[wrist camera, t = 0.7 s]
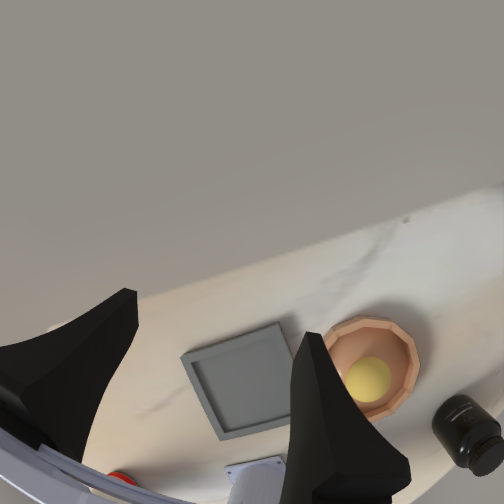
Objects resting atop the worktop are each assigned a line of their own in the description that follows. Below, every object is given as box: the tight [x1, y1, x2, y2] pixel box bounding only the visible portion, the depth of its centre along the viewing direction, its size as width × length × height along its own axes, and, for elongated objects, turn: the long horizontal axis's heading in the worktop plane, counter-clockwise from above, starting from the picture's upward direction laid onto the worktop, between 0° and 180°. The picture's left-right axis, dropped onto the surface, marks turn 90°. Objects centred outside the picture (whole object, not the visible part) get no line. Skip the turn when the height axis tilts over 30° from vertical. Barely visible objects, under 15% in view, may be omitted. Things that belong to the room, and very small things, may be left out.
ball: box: [345, 357, 391, 402], centre depth 29 cm, size 5×5×5 cm
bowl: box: [323, 315, 420, 423], centre depth 31 cm, size 13×13×2 cm
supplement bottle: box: [432, 395, 504, 477], centre depth 24 cm, size 7×7×12 cm
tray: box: [180, 322, 294, 441], centre depth 33 cm, size 12×12×1 cm
